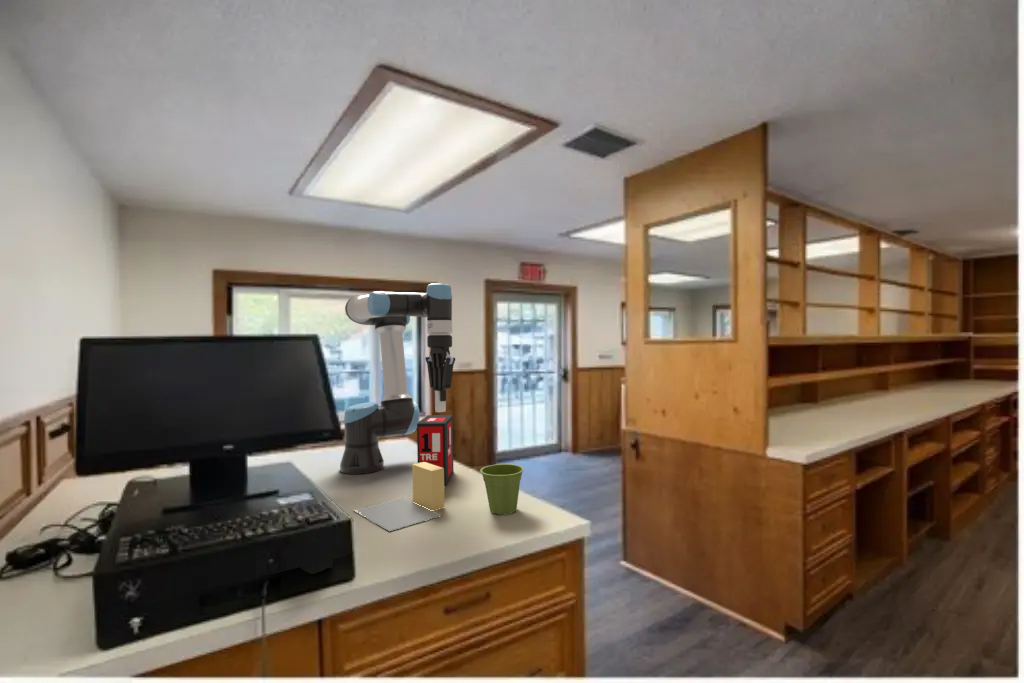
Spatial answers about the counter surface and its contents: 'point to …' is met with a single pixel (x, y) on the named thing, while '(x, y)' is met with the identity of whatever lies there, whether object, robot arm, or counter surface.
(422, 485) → the ochre box
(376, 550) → the counter surface
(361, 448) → the robot arm
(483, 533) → the counter surface
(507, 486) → the plant pot
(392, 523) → the mat
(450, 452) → the cleaning product box
